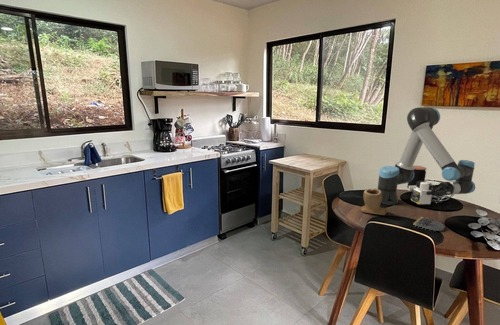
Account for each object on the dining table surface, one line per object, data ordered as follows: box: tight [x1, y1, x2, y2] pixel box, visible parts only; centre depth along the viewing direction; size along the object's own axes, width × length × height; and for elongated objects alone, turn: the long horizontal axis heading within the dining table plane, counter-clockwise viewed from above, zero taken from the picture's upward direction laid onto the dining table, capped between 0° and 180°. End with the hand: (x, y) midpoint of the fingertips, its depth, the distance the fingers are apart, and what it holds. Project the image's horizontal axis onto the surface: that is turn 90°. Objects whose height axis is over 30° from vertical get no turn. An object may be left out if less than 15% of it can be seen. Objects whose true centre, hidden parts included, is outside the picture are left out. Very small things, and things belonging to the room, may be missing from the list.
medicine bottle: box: [410, 180, 433, 205], centre depth 161 cm, size 7×7×12 cm
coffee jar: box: [406, 165, 428, 189], centre depth 218 cm, size 11×11×18 cm
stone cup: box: [360, 188, 389, 216], centre depth 174 cm, size 15×12×15 cm
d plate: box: [413, 216, 446, 232], centre depth 158 cm, size 13×13×2 cm
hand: (414, 190), depth 159 cm, fingers closed on medicine bottle, 8 cm apart
